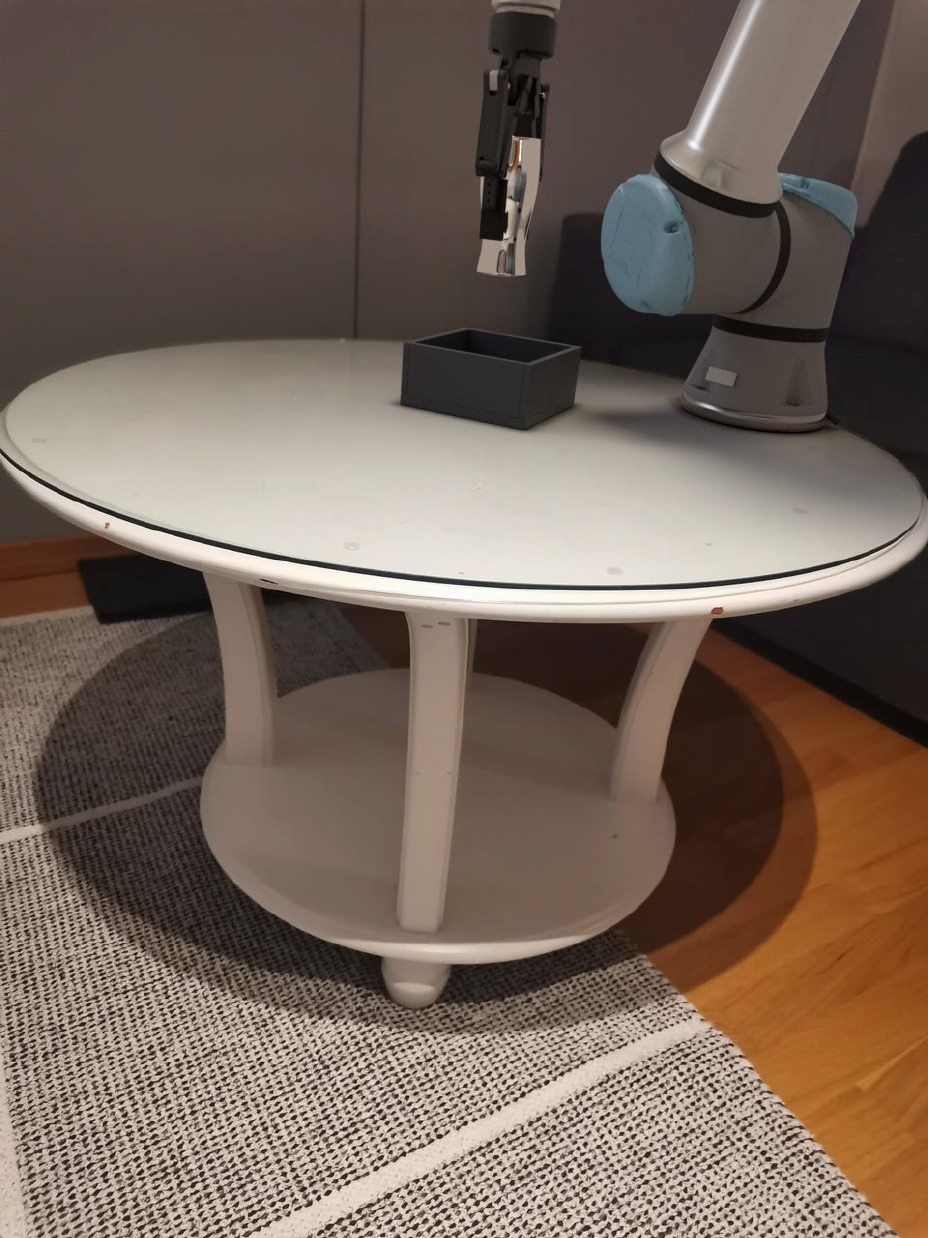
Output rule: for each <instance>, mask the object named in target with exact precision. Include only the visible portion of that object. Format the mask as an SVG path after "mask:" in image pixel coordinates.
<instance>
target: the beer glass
mask: <svg viewBox="0 0 928 1238" xmlns="http://www.w3.org/2000/svg"><path fill="white" fill-rule="evenodd" d="M540 159H541V139H536V138H528V137H518V136H512V145H511V150H510V154H509V158H508V163H507V167H506V171H505V176H504V178H503V179H505V180H508V187H507V198H506V209H505V220H504V231H503V241H495V240H486V239H481V248H480V253H479V257H478V261H477V265H476V270H475V271H476V273H477V274H479V275H480V274H481V275H484V276H491V277H500V278H525V277H526V276H527V266H526V244H527V240H526V238H527V233H528V229H529V230H530V225H531V221H532V217H533V214H534V209H535V207H536V206H535V205H536V202H537V196H538V193H539V184H540V181H539V176H540ZM484 178H485V177H479V204H480V210H481V209H482V196H483V184H484Z"/></svg>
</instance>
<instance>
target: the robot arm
mask: <svg viewBox="0 0 928 1238" xmlns="http://www.w3.org/2000/svg"><path fill="white" fill-rule="evenodd" d="M561 1H562V0H491V7H492V8H493V9H494V10H495V12H494V13H493V14H492V15H491V16H490V17H489V24H488V25H489V28H488V38H487V39H488V40H487V50H488V52H489V53H490V55H493V56H497V57H498V61H497V65H496V69H489V68H487V69H486V68H485V69H484V71H483V75H482V76H483V77H482V79H483V80H482V83H483V84H482V85H483V89H482V90H483V94H482V95H483V96H482V103H481V111H480V120H479V128H478V136H477V145H476V153H475V161H474V168H475V171H474V172H475V176H476V177H479V178H480V177H485V178H484V184H483V196H482V209H481V208H480V223H479V235H478V239H480V240H482V239H486V240H495V241H503V231H504V220H505V209H506V198H507V187H508V180H505V179H503V178H504V176H505V171H506V167H507V163H508V158H509V154H510V150H511V145H512V136H518V137H528V138H536V139H541V159H540V176H539V182H542V180H543V175H544V173H543V172H544V163H545V146H546V129H547V114H548V104H549V99H550V98H549V97H550V92H551V84H550V83H549V82H542V81H541V80H542V78H541V77H542V76H541V75H542V74H541V62H542V61H543V60H551V59H552V58H553V57H554V56H555V54H556V45H557V37H558V36H557V35H558V27H559V24H558V22H557V19H556V18H555V17H554V16H556V15H558V14H559V13H560V11H561ZM861 2H862V1H861V0H739V3H738V6H737V8H736V10H735V13H734V15H733V17H732V20H731V22H730V24H729V27H728V30H727V32H726V34H725V37H724V39H723V41H722V43H721V46H720V48H719V51H718V53H717V55H716V57H715V60H714V62H713V64H712V67H711V69H710V72H709V74H708V77H707V79H706V81H705V84H704V86H703V88H702V91H701V93H700V95H699V98H698V100H697V103H696V105H695V107H694V109H693V113H691V117H690V119H689V121H688V123H687V126H686V128H684V129H683V130H681V131H679V132H677V133H675V134H673V135H670V136H669V137H666V138H664V139H663V140H662V142H661V144H660V145H659V148H658V151H657V152H656V153H657V154H656V156H655V158H654V159H653V163H652V165H651V167H650V170H649V173H647V174H645V173H644V174H636V175H634V176H633V177H630V178H628V179H627V180H626V181H625V182H624V183H621V184H619V185H618V186H617V188H616V189H615V191H614V192H613V194H612V195H611V197H610V199H609V200H608V203H607V206H606V209H605V212H604V215H603V220H602V225H601V232H600V249H601V250H600V251H601V252H600V253H601V258H602V260H603V267H604V269H603V270H604V273H605V275H606V279H607V281H608V283H609V285H610V287H611V289H612V291H613V293H614V295H616V297H617V299H619V300H620V302H621V303H623V304H624V305H625V306H627V307H628V308H629V309H631V310H633V311H636V312H639V313H645V314H658V315H660V316H663V317H675V315H714V316H713V320H712V326H711V330H710V333H709V335H708V336H709V337H708V338H707V340H706V342H705V344H704V346H703V347H702V350H701V352H700V354H699V355H698V357H697V359H696V361H695V364H693V366H692V369H691V370H690V372H689V374H688V376H687V378H686V380H685V382H684V384H683V386H682V390H681V396H680V401H679V404H680V406H681V407H682V408H683V409H684V410H686V411H687V412H689V413H691V414H693V415H695V416H698V417H701V418H704V419H707V420H711V421H714V422H717V423H722V424H726V425H729V426H730V425H731V426H736V427H741V428H745V429H746V428H747V429H752V430H753V429H754V430H762V431H773V432H791V433H792V432H793V433H794V432H796V433H797V432H808V431H814V430H815V431H816V430H818V429H821V428H822V427H823V426H824V425H825V422H826V419H827V420H829V421H830V422H831V423H832V424H833V425H834V426H839V424H840V423H841V422H842V421H843V420H842V419H841V418H840V417H839V416H838V415H837V414H836V413H835V412H834V411H832V410H831V409H830V408H829V407H828V404H829V402H828V386H827V375H826V374H827V373H826V359H825V348H826V343H827V339H828V334H829V330H830V327H831V323H832V319H833V315H834V311H835V306H836V303H837V299H838V296H839V291H840V287H841V283H842V280H843V275H844V272H845V267H846V265H847V261H848V256H849V252H850V247H851V245H852V243H853V241H854V239H855V230H854V229H855V225H856V219H857V214H858V206H859V205H858V200H857V197H856V196H855V195H854V193H853V192H852V191H850V190H849V189H847V188H845V187H843V186H840V185H837V184H834V183H831V182H828V181H824V180H820V179H816V178H810V177H809V178H808V177H807V178H806V177H804V176H800V175H796V174H791V173H785V172H778V166H779V165H780V162H781V160H782V158H783V156H784V155H785V152H786V150H787V148H788V146H789V144H790V142H791V140H792V138H793V136H794V134H795V133H796V130H797V128H798V127H799V124H800V123H801V120H802V119H803V116H804V114H805V112H806V111H807V108H808V106H809V105H810V102H811V100H812V98H813V97H814V94H815V93H816V91H817V88H818V86H819V84H820V83H821V80H822V78H823V77H824V75H825V72H826V70H827V68H828V67H829V64H830V62H831V60H832V58H833V57H834V54H835V53H836V50H837V48H838V47H839V44H840V43H841V41H842V39H843V37H844V35H845V33H846V31H847V29H848V27H849V25H850V23H851V21H852V19H853V18H854V16H855V13H856V11H857V9H858V6H859V5H860V3H861ZM529 234H530V228H529V229H528V233H527V238H526V241H528V240H529Z"/></svg>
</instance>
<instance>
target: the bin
mask: <svg viewBox="0 0 928 1238" xmlns="http://www.w3.org/2000/svg"><path fill="white" fill-rule="evenodd" d="M582 349H583V347H582V346H579V345H572V344H568V343H567V344H566V343H561V342H555V341H549V340H544V339H537V338H532V337H526V336H520V335H514V334H508V333H502V332H497V331H490V330H484V329H478V328H472V327H467V326H465V327H461V328H457V329H453V330H449V331H445V332H441V333H436V334H432V335H428V336H424V337H419V338H416V339H411V340H408V341H404V342H403V348H402V365H401V367H402V368H401V382H400V383H401V384H400V402H399V404H400V405H401V406H402V405H403V406H408V407H412V408H416V409H421V410H426V411H431V412H436V413H442V414H445V415H446V414H447V415H451V416H456V417H459V418H466V419H470V420H474V421H479V422H484V423H489V424H494V425H499V426H504V427H509V428H513V429H517V430H521V431H522V430H523V431H525V430H527V429H529V428H531V427H532V426H534V425H536V424H539V423H541V422H543V421H545V420H546V419H550V418H551V417H552V416H554V415H556V414H559V413H560V412H562V411H565V410H567V409H569V408H571V407H573V406H574V405H575V401H576V400H575V399H576V393H577V385H578V379H579V370H580V362H581V357H582V356H581V355H582Z"/></svg>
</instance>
